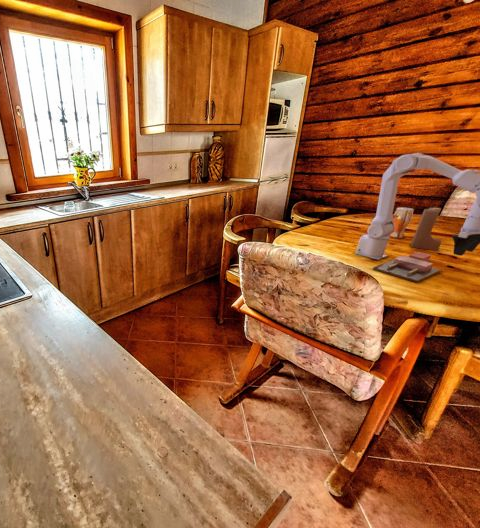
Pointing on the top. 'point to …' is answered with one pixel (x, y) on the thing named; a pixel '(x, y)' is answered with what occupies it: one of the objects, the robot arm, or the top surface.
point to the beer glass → (401, 221)
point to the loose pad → (420, 256)
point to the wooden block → (426, 232)
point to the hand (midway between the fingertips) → (462, 252)
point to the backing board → (408, 268)
